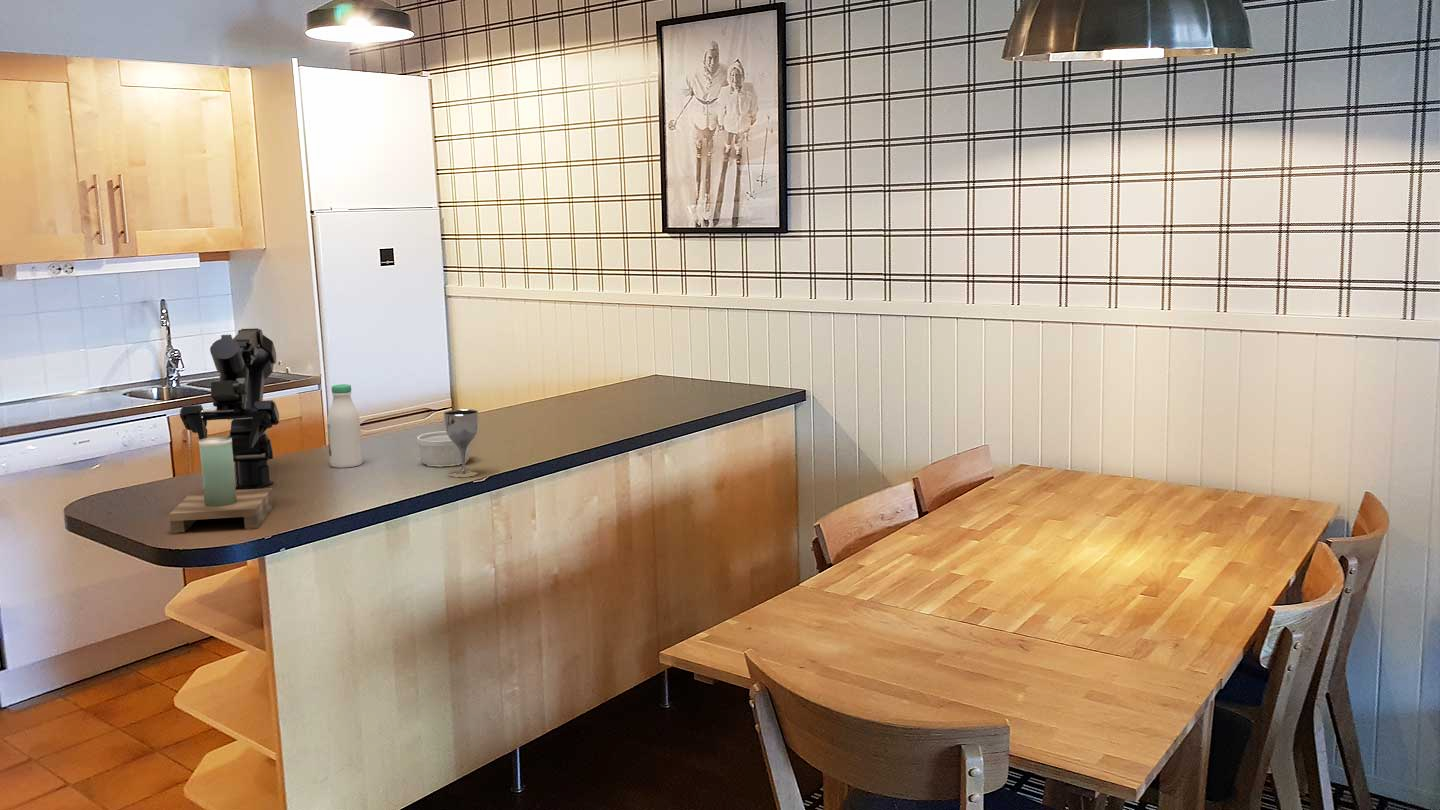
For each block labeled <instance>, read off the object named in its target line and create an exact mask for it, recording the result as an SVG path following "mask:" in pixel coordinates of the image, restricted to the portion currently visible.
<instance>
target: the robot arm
mask: <svg viewBox="0 0 1440 810" xmlns="http://www.w3.org/2000/svg"><path fill="white" fill-rule="evenodd" d="M220 337H221V338H220V339H217V340H215V341H214V342H213V343H212V345H211V346H210V348H209V350H210V351H209V353H210V355H211V357H212V361H213V364H214V367H215V369H216V371H217V373H219V381H211V382H210V398H211V399H213V400H212V405H213V407H216V408H215V409H212V410H211V409H210V410H204V408H203V405H202V404H194V405H192V404H191V405H189V404H188V405H184V406H183V405H182V407H181V408H180V411H179V417H180V419H181V422H182V424H183V426H184V428H185V430H187V431H191V432H192V434H197V436H198V439H199V440H201V439H205V438H208V429H207V426H208V421H219V420H220V421H221V420H229V421H230V422H231V423H230V431H229V435H227V436H226V437H231V438H232V450H233V462H234V469H235V482H236V483H235V486H236V489H243V490H247V489H262V488H263V487H266V486H269V485H271V484H273V483H274V481H273V480H271V479H270V467H269V465H268V461H270V460H272V459H274V450H273V446H272V441H271V439H270V438H269V437H268V434H267V433H266V431H267V430H268V429H271V428H273V426H277V425H278V424H279V423H280V413H279V410H278V408H277V404H276V402H275V401H274V400H272V399H271V400H264V391H265V390H264V389H265V381H266V379H268V377H269V376H271V375H272V374H273V371H274V365H276V364H277V352H276V348H275V344H274V342H273V341H272V340H271V339H270V338H268V337H267V336H266V335H264V333H263V330H262V329H260V328H257V327H255V328H241V329H238V331H237V334H236V335H235V336H234V337H232V334H222V335H220ZM199 440H198V441H199Z"/></svg>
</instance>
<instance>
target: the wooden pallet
mask: <svg viewBox="0 0 1440 810" xmlns="http://www.w3.org/2000/svg"><path fill="white" fill-rule="evenodd" d="M273 496H274V495H273V488H272V487H268V488H266V487H264V488H258V489H236V498H237V502H236V503H234V504H231V505H226V506H217V507H211V506H205V504H204V492H203V491H198V492H197V491H196V492H195V491H193V492H191V493H190V494H188V495H187V496H186V497H185V498H184V499H183V500H182V501H181V502H180V503H179V504H178V505H176V507H174V508H173V509H172V510H171V512H169V524H170V534H171V533H173V534H179V533H178V532H185V531H186V530H187V531H188V529H190V528H191V526H192V525H193V524H194V523H195V522H196V521H197V520H210V519H211V520H212V519H230V518H243V522H244V523H243V524H244V530H250V529H251V530H252V529H259V528H260V526H261V524H262V523H263V522H264V520H265V519H266V518H267V516H268V514H269V513H270V512H271V511H272V509H273V508H274V497H273ZM195 520H196V521H195ZM194 521H195V522H194ZM193 522H194V523H193ZM190 525H191V526H190ZM187 531H186V532H187ZM186 532H185V533H186Z"/></svg>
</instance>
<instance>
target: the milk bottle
mask: <svg viewBox="0 0 1440 810" xmlns="http://www.w3.org/2000/svg"><path fill="white" fill-rule="evenodd" d="M351 394H352V385H351V384H335V385H332V386H331V395H332V402H331V406H330V408H329V411H328V413H327V420H326V421H327V439H328V441H327V443H328V454H329V464H330V466H331V467H332V468H337V469H338V468H341V469H342V468H344V469H345V468H353V467H358V466H361V465H362V463H363V447H362V432H361V431H362V430H361V421H360V415H359V413H358V410H357V408H356V406H355V404H354V401H353V400H352V397H351V396H352V395H351Z"/></svg>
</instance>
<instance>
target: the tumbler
mask: <svg viewBox="0 0 1440 810" xmlns="http://www.w3.org/2000/svg"><path fill="white" fill-rule="evenodd" d="M198 446H199V457H200V458H199V459H200V467H201V479H202V492H204V504H205V506H211V507H217V506H226V505H231V504H234V503H236V502H237V498H236V490H237V488H236V486H235V485H236V473H235V462H233V450H232V438H231V437H227V436H215V437H213V436H212V437H207V438H205V439H201V440H198Z"/></svg>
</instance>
